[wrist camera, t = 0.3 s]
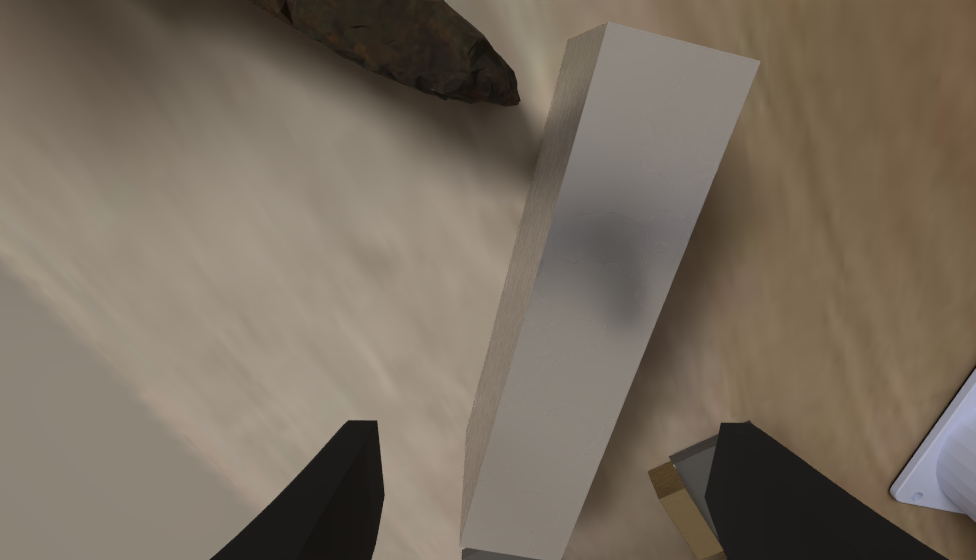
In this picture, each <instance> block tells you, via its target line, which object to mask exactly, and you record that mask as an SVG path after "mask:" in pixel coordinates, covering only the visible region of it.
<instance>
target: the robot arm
mask: <svg viewBox="0 0 976 560" xmlns="http://www.w3.org/2000/svg"><path fill="white" fill-rule="evenodd" d="M890 494H891V495H892V496H893V497H894V498H895V499H896V500H897V501H899V502H903V503H908V504H913V505H919V506H924V507H929V508H935V509H940V510H945V511H951V512H956V513H961V514H967V515H968V516H969V517H970V518H971V519H972V520H973V521H974V522H976V369H975V370H974V371H973V373H972V374H971V376H970V377H969V378H968V380H967V381H966V383H965V384H964V386H963V387H962V388H961V390H960V391H959V393H958V394H957V395H956V397H955V398H954V400H953V401H952V402H951V404H950V405H949V407H948V408H947V409H946V411H945V412H944V414H943V415H942V416H941V418H940V419H939V421H938V422H937V423H936V425H935V426H934V428H933V429H932V430H931V432H930V433H929V435H928V436H927V437H926V439H925V440H924V442H923V443H922V445H921V446H920V447H919V449H918V450H917V452H916V453H915V454H914V456H913V457H912V459H911V460H910V461H909V463H908V464H907V466H906V467H905V468H904V470H903V471H902V473H901V474H900V475H899V477H898V478H897V480H896V481H895V482H894V484H893V485H892V487H891V489H890ZM384 496H385V494H384V484H383V474H382V464H381V454H380V444H379V434H378V424H377V421H365V420H348V421H347V422H346V423H345V424H344V425H343V426H342V427H341V428H340V429H339V430H338V431H337V433H336V434H335V435H334V436H333V437H332V438H331V439H330V440H329V442H328V443H327V444H326V445H325V446H324V447H323V448H322V449H321V451H320V452H319V453H318V454H317V455H316V456H315V457H314V458H313V459H312V460H311V462H310V463H309V464H308V465H307V466H306V467H305V468H304V469H303V470H302V471H301V472H300V473H299V474H298V475H297V477H296V478H295V479H294V480H293V481H292V482H291V483H290V484H289V485H288V486H287V487H286V488H285V489H284V490H283V491H282V492H281V493H280V494H279V495H278V496H277V497H276V498H275V499H274V500H273V501H272V502H271V503H270V504H269V505H268V506H267V507H266V508H265V509H264V510H263V511H262V512H261V513H260V514H259V515H258V516H257V517H256V518H255V519H254V520H253V521H252V522H251V523H249V525H248V526H246V527H245V528H244V529H243V530H242V531H241V532H240V533H239V534H238V535H237V536H236V537H235V538H234V539H233V540H231V541H230V542H229V543H228V544H227V545H226V546H225V547H224V548H222V549H221V550H220V551H219V552H218V553H217V554H216V555H215V556H213V557H212V558H211V559H210V560H371V559H372V555H373V552H374V548H375V545H376V540H377V535H378V530H379V524H380V519H381V513H382V507H383V501H384ZM704 498H705V501H706V504H707V507H708V509H709V512H710V515H711V518H712V521H713V524H714V527H715V529H716V532H717V535H718V537H719V540H720V543H721V545H722V548H723V550H724V552H725V554H726V556H727V558H728V560H949V559H947V558H945V557H944V556H942V555H941V554H939V553H937V552H936V551H934V550H932V549H931V548H929V547H928V546H926V545H925V544H923V543H921V542H920V541H918V540H917V539H915V538H914V537H912V536H911V535H909V534H908V533H906V532H905V531H903V530H902V529H900V528H899V527H897V526H896V525H894V524H893V523H891V522H890V521H888V520H887V519H885V518H884V517H882V516H881V515H879V514H878V513H876V512H875V511H873V510H872V509H870V508H869V507H868V506H866V505H865V504H863V503H862V502H860V501H859V500H857V499H856V498H855V497H853V496H852V495H850V494H849V493H848V492H846V491H845V490H843V489H842V488H841V487H839V486H838V485H836V484H835V483H834V482H832V481H831V480H829V479H828V478H827V477H825V476H824V475H823V474H821V473H820V472H818V471H817V470H816V469H814V468H813V467H812V466H810V465H809V464H807V463H806V462H805V461H803V460H802V459H801V458H799V457H798V456H797V455H795V454H794V453H792V452H791V451H790V450H788V449H787V448H786V447H784V446H783V445H781V444H780V443H779V442H777V441H776V440H775V439H773V438H772V437H770V436H769V435H768V434H766V433H765V432H763V431H762V430H760V429H759V428H757V427H756V426H754V425H753V424H751V423H721V426H720V430H719V434H718V439H717V443H716V448H715V452H714V457H713V461H712V465H711V470H710V474H709V479H708V483H707V488H706V492H705V496H704Z"/></svg>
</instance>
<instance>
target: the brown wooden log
mask: <svg viewBox="0 0 976 560" xmlns="http://www.w3.org/2000/svg"><path fill="white" fill-rule="evenodd" d="M249 1H251V2H252V3H254V4H256V5H257V6H259V7H261V8H262V9H264V10H266V11H267V12H269V13H270V14H272V15H274V16H275V17H277V18H279V19H280V20H282V21H284V22H285V23H287V24H289V25H290V26H292V27H294V28H295V29H297V30H301V31H302V32H304V33H305V34H306V35H308V36H309V37H311V38H312V39H315V40H317V41H319V42H321V43H323V44H324V45H326V46H327V47H329V48H330V49H332V50H333V51H335V52H336V53H337V54H339V55H340V56H342V57H344V58H346V59H349V60H351V61H353V62H355V63H357V64H359V65H360V66H362V67H364V68H366V69H368V70H370V71H373V72H375V73H377V74H380V75H382V76H385V77H387V78H389V79H392V80H394V81H397V82H399V83H402V84H404V85H407V86H409V87H412V88H415V89H417V90H419V91H422V92H424V93H426V94H431V95H435V96H437V97H439V98H441V99H443V100H446V99H448V98H449V99H454V100H460V101H463V102H467V103H471V104H472V103H476V102H482V101H483V102H489V103H493V104H498V105H502V106H513V105H518V104H519V101H520V97H519V94H518V91H517V80H516V77H515V73H514V71H513V70H512V69H511V68H510V66H509V65H508V64H507V63H506V62H505V61H504V60H503V58H502V57H501V56H500V55H499V54H498V53H497V52H496V51H495V50H494V49H493V47H492V46H491V45H490V43H489V42H488V40H487V39H486V38H485V36H484V35H483V34H482V33H481V32H480V31H478V30H477V29H476V28H475V27H474V26H473V25H471V24H470V23H469V22H468V21H467V20H466V19H464V18H463V17H462V16H461V15H459V14H458V13H457V12H456V11H455V10H453V9H452V8H451V7H450V6H449V5H448V4H447V3H446V2H445V1H444V0H249Z"/></svg>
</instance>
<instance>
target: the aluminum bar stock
mask: <svg viewBox="0 0 976 560" xmlns="http://www.w3.org/2000/svg"><path fill="white" fill-rule="evenodd" d="M760 62H761V61H758V60H754V59H750V58H747V57H743V56H739V55H735V54H731V53H727V52H723V51H720V50H716V49H712V48H708V47H704V46H700V45H696V44H693V43H689V42H685V41H681V40H677V39H673V38H669V37H666V36H662V35H658V34H654V33H650V32H646V31H642V30H639V29H635V28H631V27H627V26H623V25H619V24H616V23H612V22H606V23H604V24H602V25H600V26H597V27H595V28H593V29H591V30H588V31H586V32H584V33H582V34H579V35H577V36H575V37H573V38H571V39H568V40H567V44H566V48H565V52H564V56H563V60H562V63H561V67H560V71H559V75H558V79H557V83H556V87H555V90H554V94H553V98H552V102H551V106H550V110H549V114H548V117H547V121H546V125H545V129H544V133H543V137H542V141H541V144H540V148H539V152H538V156H537V160H536V164H535V168H534V172H533V175H532V179H531V183H530V187H529V191H528V195H527V199H526V202H525V206H524V210H523V214H522V218H521V222H520V226H519V229H518V233H517V237H516V241H515V245H514V249H513V253H512V256H511V260H510V264H509V268H508V272H507V276H506V280H505V283H504V287H503V291H502V295H501V299H500V303H499V307H498V310H497V314H496V318H495V322H494V326H493V330H492V334H491V337H490V341H489V345H488V349H487V353H486V357H485V361H484V364H483V368H482V372H481V376H480V380H479V384H478V388H477V391H476V395H475V399H474V403H473V407H472V411H471V415H470V418H469V422H468V426H467V430H466V444H465V460H464V476H463V492H462V509H461V525H460V541H459V546H460V547H466V548H472V549H478V550H484V551H491V552H497V553H503V554H509V555H515V556H522V557H528V558H534V559H540V560H561V559H562V556H563V554H564V551H565V549H566V546H567V544H568V541H569V539H570V536H571V534H572V531H573V529H574V526H575V524H576V521H577V519H578V516H579V514H580V512H581V509H582V507H583V504H584V502H585V499H586V497H587V494H588V492H589V489H590V487H591V484H592V482H593V479H594V477H595V474H596V472H597V469H598V467H599V464H600V462H601V459H602V457H603V454H604V452H605V449H606V447H607V444H608V442H609V439H610V437H611V434H612V432H613V429H614V427H615V424H616V422H617V419H618V417H619V414H620V412H621V409H622V407H623V404H624V402H625V399H626V397H627V394H628V392H629V389H630V387H631V384H632V382H633V379H634V377H635V374H636V372H637V369H638V367H639V364H640V362H641V359H642V357H643V354H644V352H645V349H646V347H647V344H648V342H649V339H650V337H651V334H652V332H653V329H654V327H655V324H656V322H657V319H658V317H659V314H660V312H661V309H662V307H663V304H664V302H665V299H666V297H667V294H668V292H669V289H670V287H671V284H672V282H673V279H674V277H675V274H676V272H677V269H678V267H679V264H680V262H681V259H682V257H683V254H684V252H685V249H686V247H687V244H688V242H689V239H690V237H691V234H692V232H693V229H694V227H695V224H696V222H697V219H698V217H699V214H700V212H701V209H702V207H703V204H704V202H705V199H706V197H707V194H708V192H709V189H710V187H711V184H712V182H713V179H714V177H715V174H716V172H717V169H718V167H719V164H720V162H721V159H722V157H723V154H724V152H725V149H726V147H727V144H728V142H729V139H730V137H731V134H732V132H733V129H734V127H735V124H736V122H737V119H738V117H739V114H740V112H741V109H742V107H743V104H744V102H745V99H746V97H747V94H748V92H749V89H750V87H751V84H752V82H753V79H754V77H755V74H756V72H757V69H758V67H759V64H760Z"/></svg>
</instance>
